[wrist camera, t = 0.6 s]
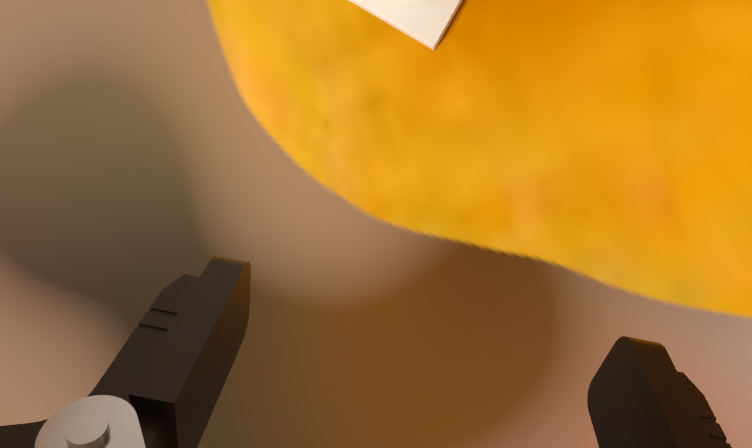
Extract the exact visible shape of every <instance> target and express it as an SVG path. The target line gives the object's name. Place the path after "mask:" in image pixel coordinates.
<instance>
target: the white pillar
mask: <svg viewBox="0 0 752 448" xmlns="http://www.w3.org/2000/svg"><path fill="white" fill-rule="evenodd" d="M349 1H350V2H352V3H354V4H356V5H357V6H359V7H361V8H362V9H364V10H366V11H368V12H369V13H371V14H373V15H374V16H376V17H378V18H379V19H381V20H383V21H385V22H386V23H388V24H390V25H391V26H393V27H395V28H397V29H398V30H400V31H402V32H403V33H405V34H407V35H408V36H410V37H412V38H414V39H415V40H417V41H419V42H420V43H422V44H424V45H426V46H427V47H429V48H431V49H432V50H434V51H435V49H436V47H437V46H438V44H439V42H440V40H441V38H442V37H443V35H444V33H445V31H446V30H447V28H448V26H449V24H450V23H451V21H452V19H453V17H454V15H455V14H456V12H457V10H458V8H459V7H460V5H461V3H462V1H463V0H349Z"/></svg>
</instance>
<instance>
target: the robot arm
mask: <svg viewBox="0 0 752 448" xmlns="http://www.w3.org/2000/svg"><path fill="white" fill-rule="evenodd" d="M250 281H251V265H250V263H249V262H247V261H242V260H237V259H231V258H226V257H221V256H213V257H212V258H211V260H210V262H209V263H208V265H207V267H206V268H205V270H204V271H203V273H202V275H201V276H200V277H195V276H190V275H185V274H184V275H183V276H181V277H179V278H178V279H176V280H175V281H173V282H172V283H170V284H169V285H168V286H166V287H165V288H163V289H162V291H161V292H160V294H159V295H158V296H157V298H156V300H155V301H154V302H153V304H152V305H151V307H150V310H149V312H146V314H145V315H144V317H143V318H142V320H141V321H140V323H139V326H138V328H136V329H135V330H134V332H133V333H132V334H131V336H130V337H129V339H128V340H127V342H126V343H125V345H124V346H123V348H122V349H121V350H120V352H119V353H118V355H117V356H116V358H115V359H114V361H113V362H112V364H111V365H110V367H109V368H108V369H107V371H106V372H105V374H104V375H103V377H102V378H101V380H100V381H99V383H98V384H97V386H96V387H95V388H94V389H93V391H92V392H91V393H90V394H89V395H88V396H87V397H85V398H81V399H79V400H76V401H73V402H71V403H69V404H67V405H65V406H64V407H63V408H61V409H59V410H58V411H57V412H56V413H54V414H53V415H52V416H51V417H50V418H49V419H47V420H43V421H40V422H34V423H26V424H17V425H7V426H0V448H197V447H198V445H199V442H200V440H201V438H202V435H203V433H204V430H205V428H206V426H207V423H208V421H209V419H210V416H211V414H212V412H213V410H214V407H215V405H216V403H217V400H218V398H219V396H220V393H221V391H222V389H223V386H224V384H225V381H226V379H227V377H228V375H229V372H230V370H231V368H232V365H233V363H234V361H235V358H236V356H237V354H238V351H239V349H240V347H241V344H242V342H243V339H244V336H245V333H246V329H247V324H248V319H249V307H250ZM587 401H588V410H589V414H590V417H591V421H592V424H593V427H594V431H595V434H596V437H597V441H598V444H599V448H731V446H730V444H727V443H726V436H725V434H724V433H723V431H722V429H721V427H720V425H719V424H717V423H716V417H715V416H714V414H713V412H712V410H711V408H710V406H709V404H708V402H707V400H706V399H705V397H704V395H703V394H702V393H701V392H700V391H699V389H698V388H697V387H696V386H695V385H694V384H693V383H692V382H691V381H690V380H689V379H688V378H687V376H686V375H685V374H684V373H682V372H677V371H676V369H675V367H674V365H673V363H672V361H671V359H670V357H669V355H668V353H667V351H666V349H665V347H664V346H663V345H661V344H660V343H656V342H651V341H646V340H641V339H636V338H630V337H625V336H623V337H620V338H619V339H618V340H617V341H616V342H615V344H614V346H613V347H612V349H611V350H610V352H609V353H608V355H607V357H606V358H605V360H604V362H603V363H602V365H601V367H600V368H599V370H598V371H597V373H596V374H595V376H594V378H593V379H592V381H591V383H590V386H589V390H588V400H587Z"/></svg>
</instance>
